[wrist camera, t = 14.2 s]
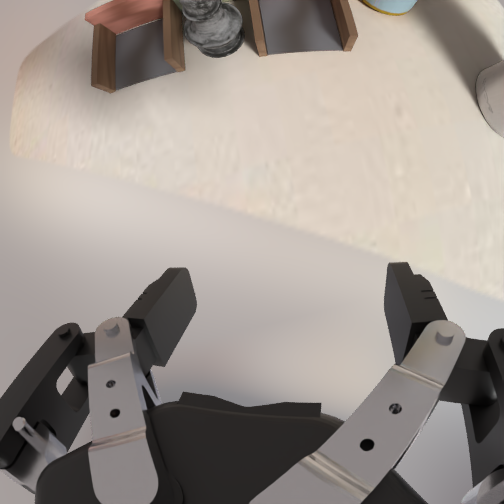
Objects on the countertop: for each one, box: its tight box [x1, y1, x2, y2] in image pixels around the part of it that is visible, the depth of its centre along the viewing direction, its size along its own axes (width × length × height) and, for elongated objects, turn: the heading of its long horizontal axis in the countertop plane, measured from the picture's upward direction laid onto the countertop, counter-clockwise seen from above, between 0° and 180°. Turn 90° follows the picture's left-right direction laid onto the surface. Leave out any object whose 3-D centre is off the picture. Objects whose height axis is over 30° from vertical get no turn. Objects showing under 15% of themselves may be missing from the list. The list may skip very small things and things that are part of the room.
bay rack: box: [85, 0, 358, 93], centre depth 23 cm, size 27×10×6 cm, turn 97°
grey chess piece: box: [179, 0, 245, 58], centre depth 20 cm, size 6×6×12 cm
